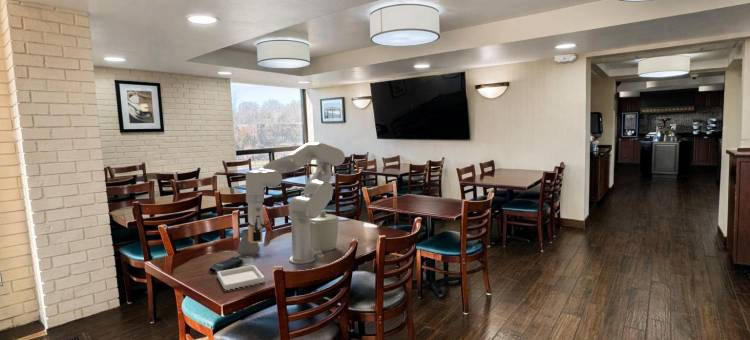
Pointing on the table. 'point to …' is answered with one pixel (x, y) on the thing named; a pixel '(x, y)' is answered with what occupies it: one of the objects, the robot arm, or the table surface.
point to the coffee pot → (248, 244)
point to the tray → (240, 277)
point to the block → (250, 234)
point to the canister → (324, 231)
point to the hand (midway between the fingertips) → (255, 239)
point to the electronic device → (226, 264)
